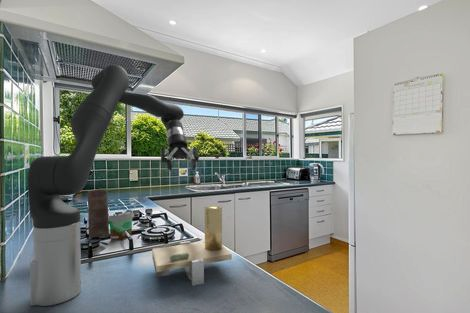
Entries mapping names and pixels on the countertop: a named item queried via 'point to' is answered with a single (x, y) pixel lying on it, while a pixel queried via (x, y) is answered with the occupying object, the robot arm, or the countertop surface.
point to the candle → (98, 213)
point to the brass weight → (213, 228)
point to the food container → (120, 225)
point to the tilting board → (185, 256)
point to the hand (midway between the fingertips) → (182, 168)
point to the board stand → (195, 270)
